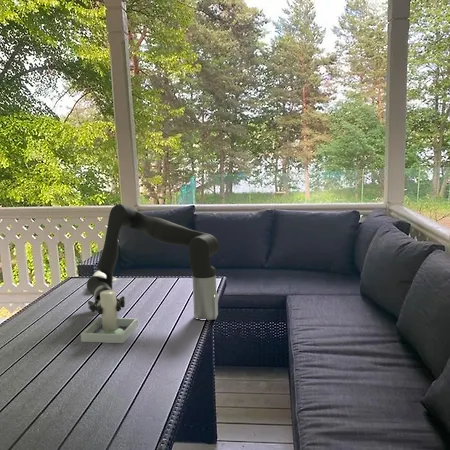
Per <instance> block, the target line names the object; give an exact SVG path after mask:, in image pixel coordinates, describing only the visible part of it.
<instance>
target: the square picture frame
mask: <svg viewBox="0 0 450 450" xmlns="http://www.w3.org/2000/svg"><path fill="white" fill-rule="evenodd" d="M101 326H102V317H98V318H96V319H95V320H94V322H92V323H91V324H90V325H89V326H88V327H86V328H85V329H84V330H83V331H82V332H80V342H82V343H106V344H108V343H109V344H110V343H111V344H112V343H113V344H124V343H125V342H126V340H128V338H129V337H130V336H131V335H132V334H133V333H134V332H135V330H136V329H137V328H138V327H139V318H137V317H136V318H135V317H134V318H132V317H131V318H130V317H129V318H127V317H118V327H126V329H124V330H123V333H122V334H105V333H99V332H96V331H97V330H98V329H99V328H100V327H101Z"/></svg>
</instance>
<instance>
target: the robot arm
mask: <svg viewBox="0 0 450 450" xmlns="http://www.w3.org/2000/svg"><path fill="white" fill-rule="evenodd" d="M107 221H108V222H107V225H106V226H107V228H106V232H105V239H104V244H103V248H102V251H101V254H100V257H99V260H98V263H97V267H96V269H97V271H101V272H103V273H104V274H106V278H102V277H98V276H93V275H92V276H90V277H89V278H88V279H87V282H86V289H87V291H88V293H89V294H91V295H92V296H93V299H94V301H91V300H89V301H87V307H88V309H89V311H91V312H92V313H95V312H96V311H97V314H100V315H102V307H101V301H100V292H102V291H106V290H113V283H112V280H113V277H114V270H115V267H116V265H117V261H118V258H119V234H120V230H121V228H125V229H131V230H135V231H139V232H142V233H143V234H145V235H146V236H147V237H149V238H151V239H152V240H155V241H157V242H160V243H163V244H167V245H174V246H184V247H188V258H189V259H188V260H189V268H190V271H191V275H192V277H191V278H192V296H193V297H192V298H193V301H192V302H193V318H194V317H195V318H198V319H207V320H208V321H213V320H217V317H218V316H219V308H218V307H219V304H218V302H219V301H218V300H219V299H218V292H217V278H216V277H217V276H216V272H217V271H216V267H214V266H213V265H211V262H210V259H211V257H213V256H214V255H216V254H217V253H218V252H219V249H220V244H219V241H218V239H217V238H216V236H214V235H212V234H210V233H206V232H202V231H198V230H193V229H190V228H187V227H186V226H183V225H180V224H177V223H174V222H171V221H170V220H166V219H164V218H161V217H157V216H150V215H147V214H144V213H141V212H140V211H138V210H137V209H134V208H132V207H130V206H127V205H124V204H122V203H120V204H115V205H114V206H112V208H111V209H110V212H109V216H108V220H107ZM116 302H117V313H119V312H120V311H121V310H122V309H123V308H125V306H126V305H125V303H126V302H125V295H123V296H121V297H119V298H118V297H117V296H116ZM195 318H194V319H195Z"/></svg>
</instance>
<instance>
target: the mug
mask: <svg viewBox="0 0 450 450" xmlns="http://www.w3.org/2000/svg"><path fill="white" fill-rule="evenodd" d="M92 276H98V277H102V278H106V274H104V273H103V272H101V271H99V270H97V271H95V272H94V274H93V275H92ZM117 281H118V279H117V277H116V276H113V280H112V284H113V283H115V282H117Z"/></svg>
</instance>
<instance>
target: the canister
mask: <svg viewBox="0 0 450 450" xmlns="http://www.w3.org/2000/svg"><path fill="white" fill-rule="evenodd" d="M116 297H117V291H116V290H113V289H112V290H106V291H102V292H100V301H101V307H102V314H101V318H102V330H103V331H104V332H113V331H116V330H117V329H118V328H119V326H118V318H119V317H118V311H117V302H116Z"/></svg>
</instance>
